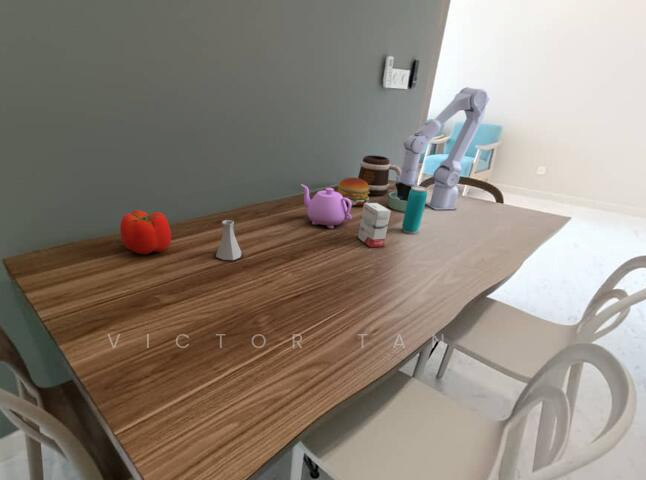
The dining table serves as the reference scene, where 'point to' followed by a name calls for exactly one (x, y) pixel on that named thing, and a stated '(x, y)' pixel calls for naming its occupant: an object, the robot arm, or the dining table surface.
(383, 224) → the ink box
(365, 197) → the burger
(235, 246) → the flask
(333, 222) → the teapot
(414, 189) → the beverage can
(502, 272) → the dining table surface
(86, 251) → the dining table surface
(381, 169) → the mug
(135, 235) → the red bell pepper
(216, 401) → the dining table surface
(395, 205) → the bowl
